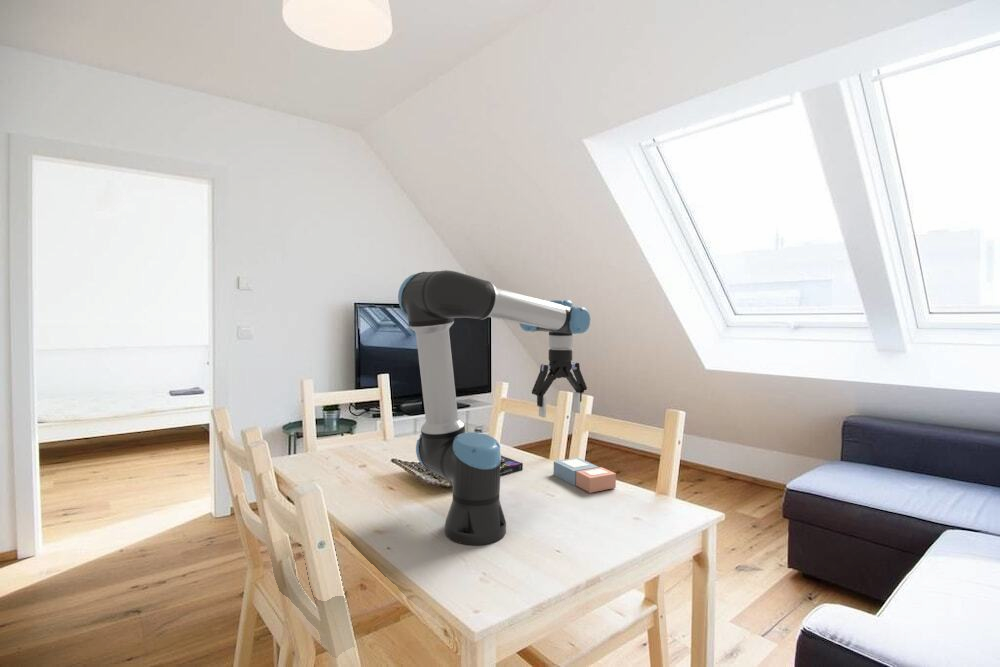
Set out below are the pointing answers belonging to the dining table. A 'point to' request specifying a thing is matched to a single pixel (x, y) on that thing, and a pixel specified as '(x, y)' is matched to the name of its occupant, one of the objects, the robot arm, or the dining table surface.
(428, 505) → the dining table surface
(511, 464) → the box
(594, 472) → the white-topped pink block
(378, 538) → the dining table surface
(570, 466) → the white-topped blue block
